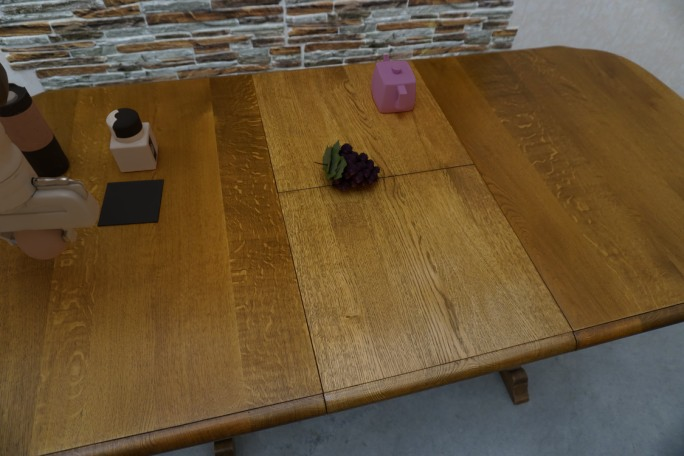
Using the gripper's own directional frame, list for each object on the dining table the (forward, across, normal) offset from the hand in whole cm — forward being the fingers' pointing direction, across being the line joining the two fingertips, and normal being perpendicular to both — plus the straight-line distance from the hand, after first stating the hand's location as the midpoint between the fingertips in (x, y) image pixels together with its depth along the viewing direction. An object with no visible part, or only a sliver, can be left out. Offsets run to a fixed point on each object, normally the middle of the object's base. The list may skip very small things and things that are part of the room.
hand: (45, 240), depth 73 cm
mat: (+17, -5, -21) cm, 27 cm away
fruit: (+16, -52, -24) cm, 60 cm away
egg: (+3, 0, 0) cm, 3 cm away
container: (+17, -5, -34) cm, 39 cm away
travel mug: (+17, +14, -33) cm, 40 cm away
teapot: (+16, -68, -53) cm, 88 cm away
